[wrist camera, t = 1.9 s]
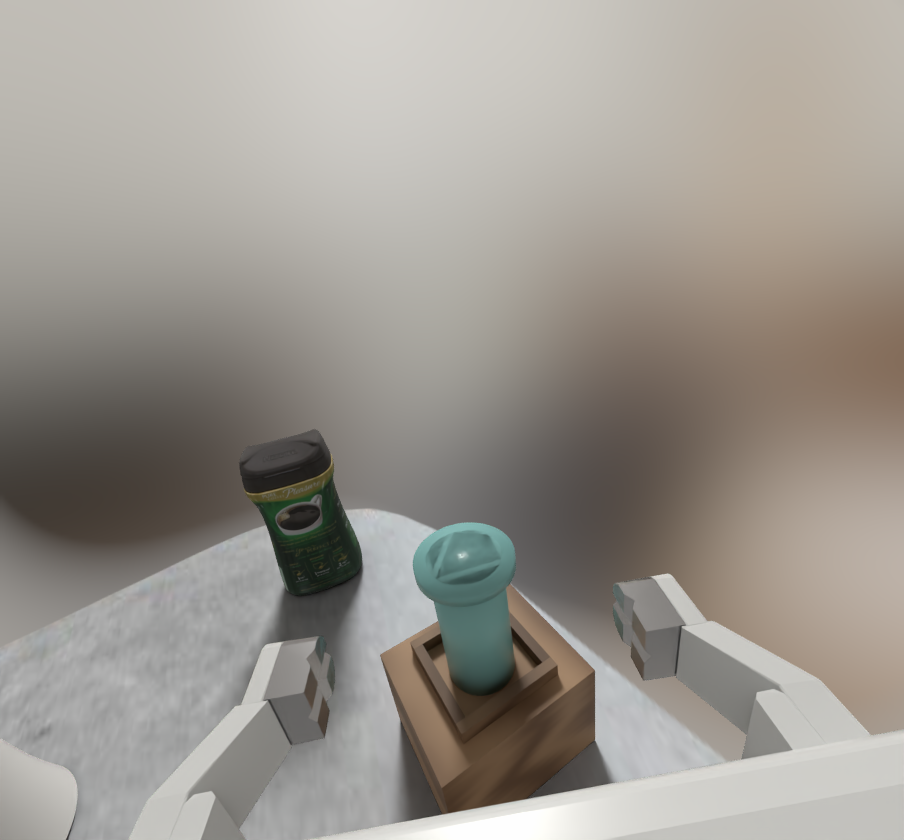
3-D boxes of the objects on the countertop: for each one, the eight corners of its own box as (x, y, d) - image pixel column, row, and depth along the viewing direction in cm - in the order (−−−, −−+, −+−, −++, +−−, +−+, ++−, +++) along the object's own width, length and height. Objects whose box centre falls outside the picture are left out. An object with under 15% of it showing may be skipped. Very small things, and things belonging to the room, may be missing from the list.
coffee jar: (359, 539, 57) (323, 417, 50) (367, 579, 50) (326, 443, 43) (286, 562, 55) (237, 438, 48) (284, 607, 48) (226, 470, 41)
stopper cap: (466, 729, 26) (443, 616, 22) (422, 652, 32) (397, 549, 27) (545, 672, 29) (537, 561, 25) (492, 610, 34) (478, 510, 30)
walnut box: (460, 855, 27) (439, 778, 23) (400, 718, 35) (377, 646, 31) (595, 739, 32) (594, 660, 28) (514, 643, 40) (506, 572, 36)
